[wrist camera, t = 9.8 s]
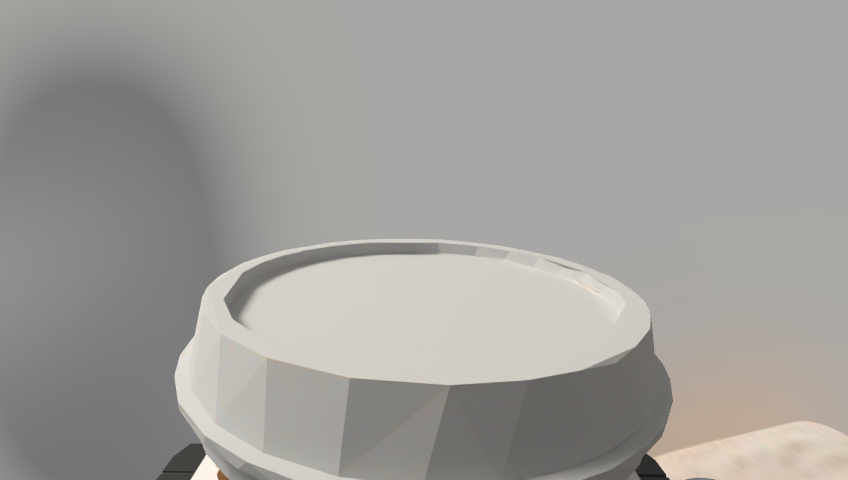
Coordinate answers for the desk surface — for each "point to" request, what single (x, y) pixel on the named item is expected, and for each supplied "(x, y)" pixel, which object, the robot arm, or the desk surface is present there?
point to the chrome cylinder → (700, 479)
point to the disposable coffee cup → (422, 366)
